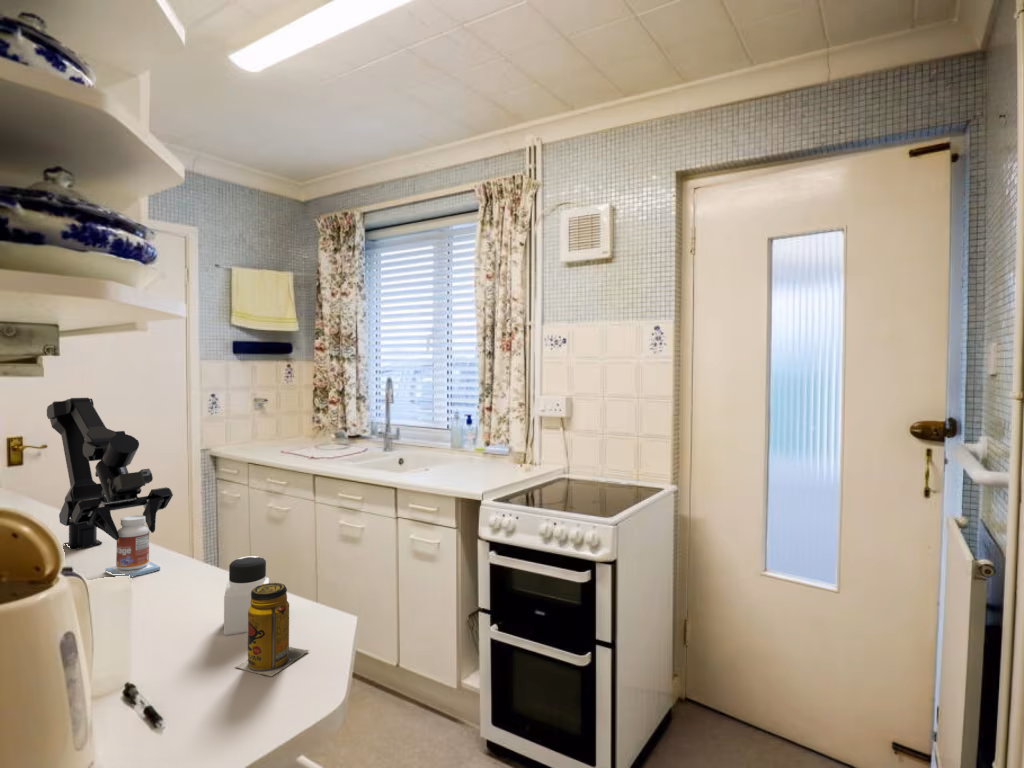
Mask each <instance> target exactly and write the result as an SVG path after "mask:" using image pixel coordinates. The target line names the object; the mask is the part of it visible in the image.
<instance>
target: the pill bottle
mask: <svg viewBox="0 0 1024 768" xmlns="http://www.w3.org/2000/svg"><path fill="white" fill-rule="evenodd" d="M145 524H146V517H145V516H143V514H142V515H138V514H137V515H128V516H124V517H121V518H120V526H122V527H121V528H118V529H117V531H118V534H119V539H118V540H116V559H115V560H116V561H115V562H116V565H115V566H116V567H117V569H120V570H132V569H138V568H142V567H144V566H146V565H147V564H148V563H149V561H150V530H149V528H148V526H147V524H146V525H145Z"/></svg>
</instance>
